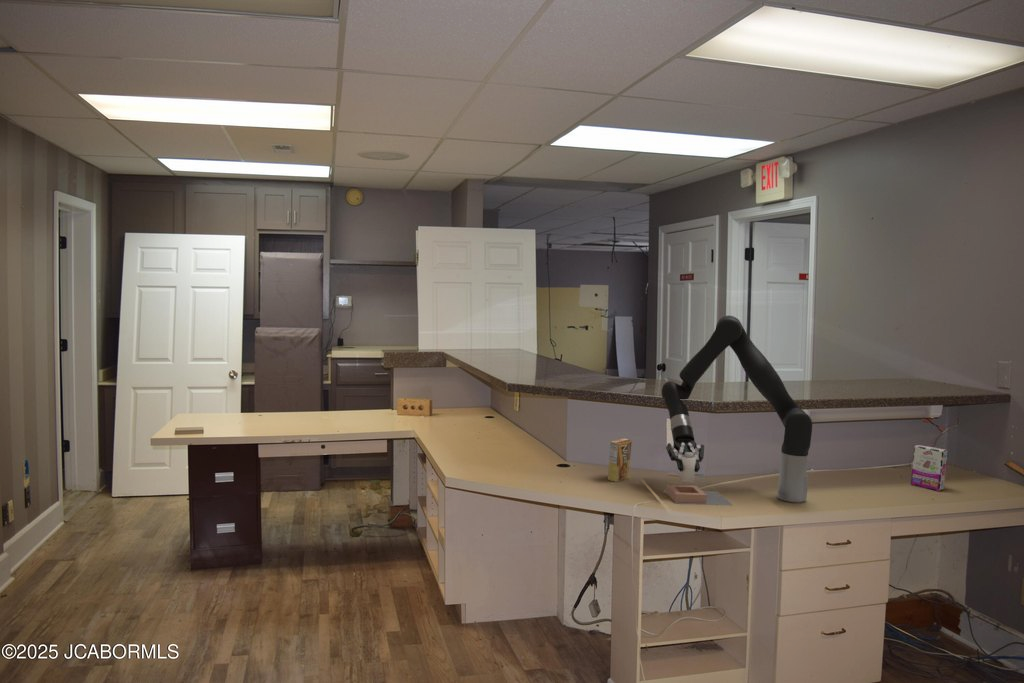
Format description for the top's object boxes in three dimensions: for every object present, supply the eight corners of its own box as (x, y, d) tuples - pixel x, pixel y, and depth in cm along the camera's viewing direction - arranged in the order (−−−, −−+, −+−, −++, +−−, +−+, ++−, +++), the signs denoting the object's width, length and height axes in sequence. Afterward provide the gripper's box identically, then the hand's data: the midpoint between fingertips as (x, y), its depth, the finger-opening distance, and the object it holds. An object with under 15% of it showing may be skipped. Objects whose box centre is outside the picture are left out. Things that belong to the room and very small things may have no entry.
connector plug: (691, 478, 267) (693, 451, 266) (695, 482, 262) (698, 455, 261) (677, 478, 267) (680, 450, 266) (682, 482, 262) (684, 454, 261)
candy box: (620, 476, 294) (623, 438, 293) (629, 478, 291) (632, 440, 290) (607, 479, 288) (609, 441, 286) (616, 482, 285) (618, 443, 284)
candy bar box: (944, 489, 299) (948, 449, 297) (939, 491, 295) (943, 451, 294) (914, 482, 307) (919, 443, 305) (909, 484, 304) (913, 445, 302)
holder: (717, 494, 276) (718, 483, 275) (733, 508, 260) (734, 496, 259) (662, 493, 274) (663, 482, 273) (675, 507, 258) (676, 495, 258)
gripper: (665, 423, 270) (672, 464, 259) (703, 424, 271) (712, 466, 260) (660, 434, 275) (666, 475, 265) (697, 435, 277) (706, 476, 266)
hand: (689, 470), depth 262 cm, fingers closed on connector plug, 5 cm apart
